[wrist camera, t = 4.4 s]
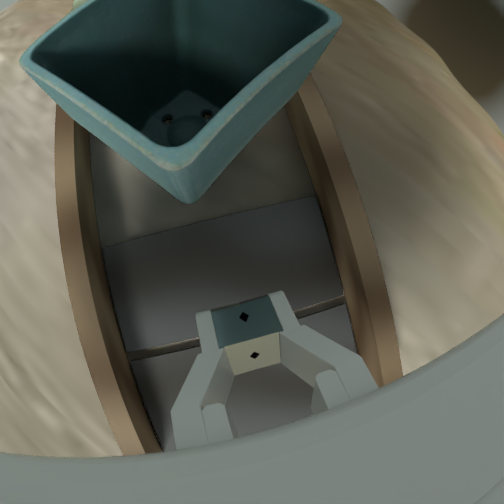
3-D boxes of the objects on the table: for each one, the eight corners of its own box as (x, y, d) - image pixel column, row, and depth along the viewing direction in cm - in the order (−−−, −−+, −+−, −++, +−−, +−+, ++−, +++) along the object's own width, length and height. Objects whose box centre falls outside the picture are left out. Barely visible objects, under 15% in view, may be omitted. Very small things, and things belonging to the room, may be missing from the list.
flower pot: (184, 59, 17) (176, -51, 8) (295, 126, 17) (350, 16, 8) (87, 152, 15) (12, 59, 6) (199, 242, 15) (177, 178, 7)
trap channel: (383, 386, 15) (421, 406, 11) (144, 455, 13) (128, 493, 9) (236, -29, 19) (240, -60, 15) (84, 3, 17) (74, -27, 13)
